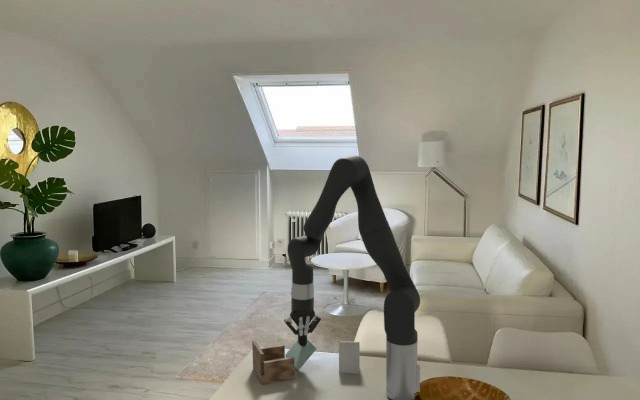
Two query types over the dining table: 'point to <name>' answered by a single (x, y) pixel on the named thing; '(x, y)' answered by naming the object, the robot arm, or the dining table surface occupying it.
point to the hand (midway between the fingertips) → (302, 345)
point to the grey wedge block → (349, 357)
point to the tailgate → (300, 353)
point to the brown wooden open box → (272, 364)
